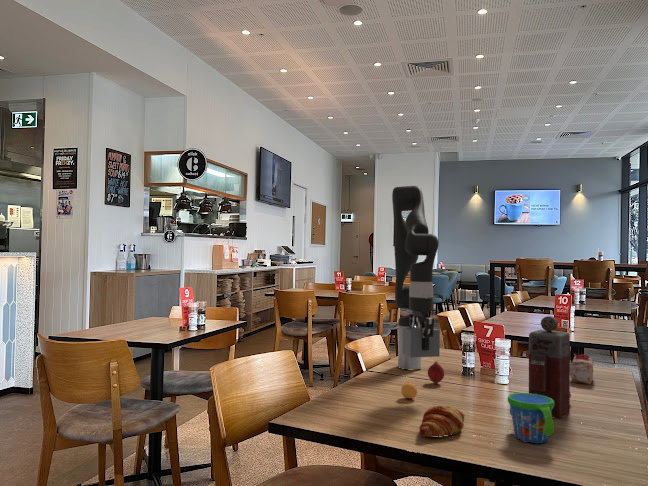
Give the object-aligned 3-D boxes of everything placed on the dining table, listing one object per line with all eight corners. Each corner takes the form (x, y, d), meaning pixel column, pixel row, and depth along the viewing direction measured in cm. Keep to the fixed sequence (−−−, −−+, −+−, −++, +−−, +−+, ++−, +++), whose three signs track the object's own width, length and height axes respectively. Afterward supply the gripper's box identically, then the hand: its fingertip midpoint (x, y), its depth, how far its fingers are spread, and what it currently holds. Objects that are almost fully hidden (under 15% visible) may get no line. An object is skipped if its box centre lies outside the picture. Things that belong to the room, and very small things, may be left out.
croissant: (452, 431, 140) (440, 403, 143) (483, 421, 134) (470, 392, 137) (413, 451, 124) (400, 419, 127) (446, 440, 118) (432, 407, 121)
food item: (593, 386, 179) (593, 358, 179) (568, 383, 182) (568, 356, 183) (593, 378, 191) (593, 352, 191) (570, 375, 194) (570, 350, 195)
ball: (402, 378, 161) (415, 385, 162) (396, 393, 160) (408, 399, 161) (409, 381, 156) (422, 388, 157) (402, 396, 155) (415, 403, 156)
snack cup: (497, 428, 132) (497, 389, 132) (536, 428, 133) (536, 389, 133) (524, 451, 117) (524, 407, 117) (568, 451, 117) (568, 407, 117)
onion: (445, 386, 175) (446, 363, 176) (429, 385, 176) (429, 362, 176) (442, 381, 181) (442, 359, 182) (426, 381, 181) (426, 359, 182)
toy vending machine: (525, 414, 145) (525, 316, 146) (538, 405, 153) (538, 313, 154) (558, 421, 139) (558, 319, 140) (569, 412, 147) (569, 316, 148)
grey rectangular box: (402, 353, 162) (402, 327, 162) (430, 352, 164) (430, 327, 165) (410, 357, 156) (410, 330, 156) (439, 356, 158) (439, 330, 158)
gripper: (401, 294, 167) (401, 344, 166) (419, 297, 153) (419, 352, 152) (422, 294, 169) (422, 344, 168) (442, 297, 155) (441, 352, 154)
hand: (420, 348), depth 160 cm, fingers closed on grey rectangular box, 6 cm apart
